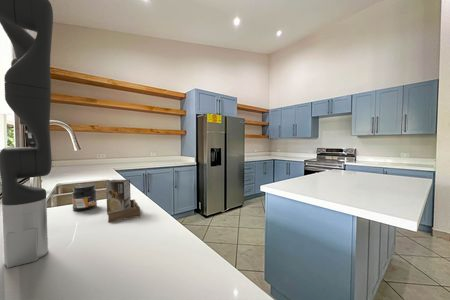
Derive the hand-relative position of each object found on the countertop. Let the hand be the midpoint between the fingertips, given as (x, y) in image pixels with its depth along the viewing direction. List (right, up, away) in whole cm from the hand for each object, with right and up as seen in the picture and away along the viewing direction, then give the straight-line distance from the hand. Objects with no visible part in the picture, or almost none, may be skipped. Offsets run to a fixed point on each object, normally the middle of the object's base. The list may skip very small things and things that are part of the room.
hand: (35, 157), depth 75 cm
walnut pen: (+23, -28, +20) cm, 42 cm away
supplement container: (-1, -28, +28) cm, 40 cm away
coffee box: (+21, -28, +21) cm, 41 cm away
